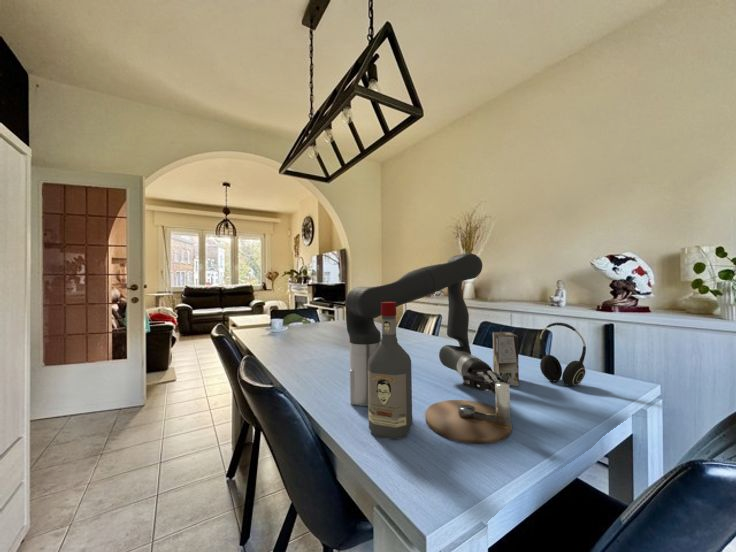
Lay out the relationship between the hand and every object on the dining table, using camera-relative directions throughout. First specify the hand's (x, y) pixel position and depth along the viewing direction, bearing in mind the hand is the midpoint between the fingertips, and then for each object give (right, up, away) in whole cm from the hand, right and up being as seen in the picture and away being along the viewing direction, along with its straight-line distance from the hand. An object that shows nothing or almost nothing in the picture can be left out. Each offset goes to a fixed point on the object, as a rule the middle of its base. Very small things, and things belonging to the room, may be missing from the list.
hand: (502, 392), depth 72 cm
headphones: (+33, -8, +30) cm, 45 cm away
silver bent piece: (-4, -7, +1) cm, 8 cm away
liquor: (-26, -9, +1) cm, 28 cm away
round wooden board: (-7, -9, +3) cm, 12 cm away
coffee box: (+15, -9, +33) cm, 37 cm away
